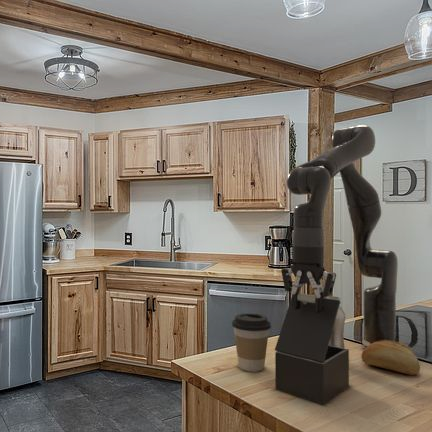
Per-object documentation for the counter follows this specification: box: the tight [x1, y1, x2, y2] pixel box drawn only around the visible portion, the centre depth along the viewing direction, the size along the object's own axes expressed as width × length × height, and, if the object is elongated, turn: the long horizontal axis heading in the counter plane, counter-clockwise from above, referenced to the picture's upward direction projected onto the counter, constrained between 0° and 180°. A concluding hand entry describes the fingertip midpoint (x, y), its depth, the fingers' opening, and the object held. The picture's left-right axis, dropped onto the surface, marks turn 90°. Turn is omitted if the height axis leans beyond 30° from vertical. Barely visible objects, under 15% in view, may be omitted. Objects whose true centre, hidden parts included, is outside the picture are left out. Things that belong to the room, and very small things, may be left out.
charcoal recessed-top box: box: [274, 345, 350, 406], centre depth 113 cm, size 16×13×10 cm
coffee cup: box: [231, 312, 272, 373], centre depth 128 cm, size 11×11×15 cm
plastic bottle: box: [326, 295, 346, 349], centre depth 131 cm, size 6×7×20 cm
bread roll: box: [361, 340, 421, 376], centre depth 125 cm, size 10×15×8 cm, turn 51°
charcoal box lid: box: [274, 292, 341, 363], centre depth 109 cm, size 16×13×5 cm
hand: (307, 310), depth 111 cm, fingers closed on charcoal box lid, 5 cm apart
